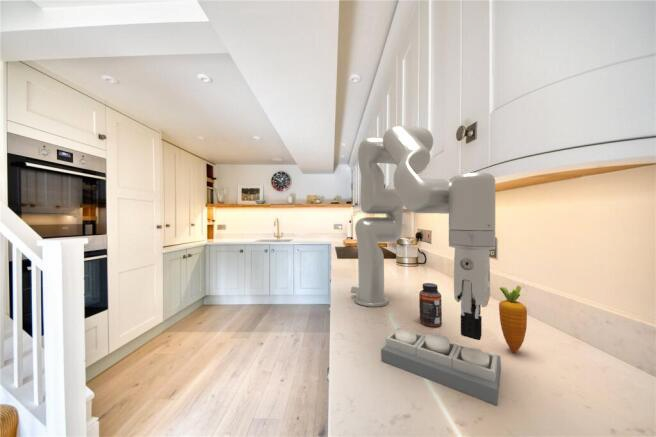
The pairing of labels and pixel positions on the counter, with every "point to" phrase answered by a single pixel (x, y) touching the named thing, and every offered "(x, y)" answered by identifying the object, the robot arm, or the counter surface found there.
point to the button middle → (437, 343)
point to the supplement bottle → (430, 305)
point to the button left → (406, 336)
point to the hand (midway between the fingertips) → (471, 336)
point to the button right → (475, 357)
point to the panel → (445, 367)
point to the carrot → (513, 319)
